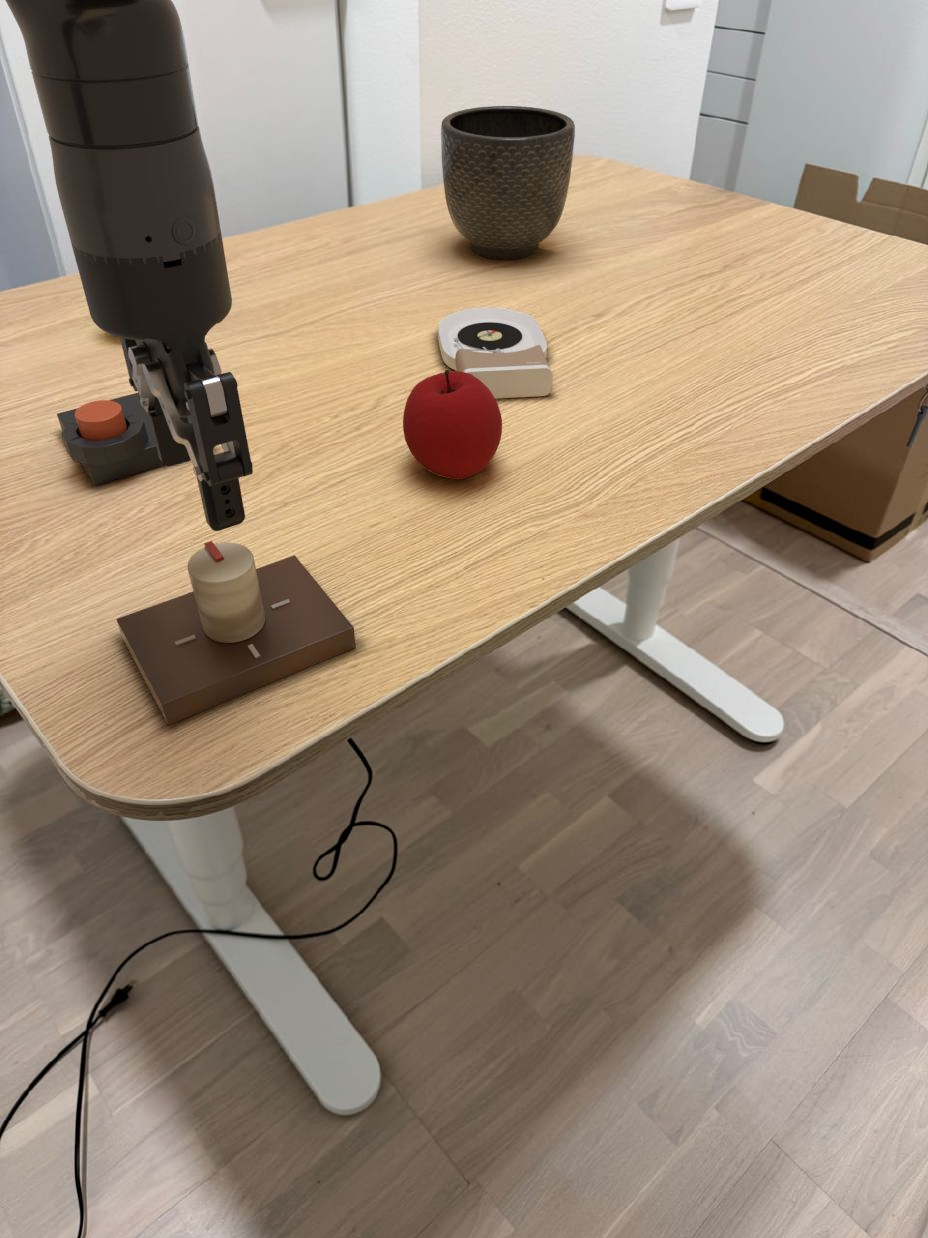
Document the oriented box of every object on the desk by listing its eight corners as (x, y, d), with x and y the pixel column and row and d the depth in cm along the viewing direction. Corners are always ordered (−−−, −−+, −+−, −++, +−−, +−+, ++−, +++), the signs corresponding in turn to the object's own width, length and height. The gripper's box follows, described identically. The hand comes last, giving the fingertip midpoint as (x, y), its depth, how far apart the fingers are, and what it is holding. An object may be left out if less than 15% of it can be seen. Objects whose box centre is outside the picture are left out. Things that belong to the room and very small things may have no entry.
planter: (449, 225, 133) (448, 103, 123) (566, 229, 132) (575, 106, 122) (435, 269, 121) (433, 136, 110) (565, 274, 119) (575, 140, 109)
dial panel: (168, 725, 60) (161, 703, 59) (122, 639, 66) (115, 617, 65) (356, 647, 66) (353, 625, 64) (297, 574, 72) (294, 553, 71)
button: (87, 446, 80) (81, 426, 78) (75, 427, 82) (69, 407, 81) (132, 434, 81) (127, 413, 80) (119, 415, 84) (113, 395, 82)
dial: (275, 628, 64) (263, 563, 60) (216, 651, 62) (200, 586, 59) (250, 594, 67) (237, 531, 63) (193, 616, 65) (176, 552, 61)
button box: (87, 494, 81) (74, 455, 78) (53, 436, 88) (40, 398, 85) (215, 455, 85) (207, 417, 83) (172, 404, 93) (164, 367, 90)
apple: (521, 475, 83) (526, 374, 76) (434, 504, 79) (432, 400, 73) (470, 431, 89) (470, 333, 82) (387, 456, 85) (380, 356, 79)
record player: (450, 372, 91) (433, 296, 106) (450, 400, 93) (433, 322, 108) (564, 366, 92) (531, 292, 107) (562, 394, 94) (530, 317, 109)
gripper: (36, 201, 50) (109, 458, 60) (114, 285, 41) (183, 569, 51) (169, 180, 53) (216, 428, 64) (268, 255, 44) (304, 529, 55)
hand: (201, 491), depth 57 cm, fingers open, 8 cm apart
